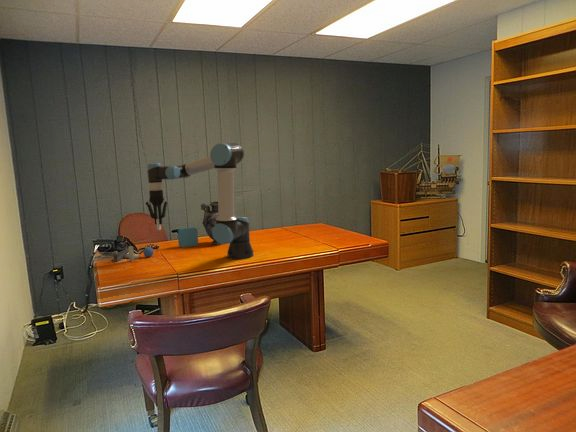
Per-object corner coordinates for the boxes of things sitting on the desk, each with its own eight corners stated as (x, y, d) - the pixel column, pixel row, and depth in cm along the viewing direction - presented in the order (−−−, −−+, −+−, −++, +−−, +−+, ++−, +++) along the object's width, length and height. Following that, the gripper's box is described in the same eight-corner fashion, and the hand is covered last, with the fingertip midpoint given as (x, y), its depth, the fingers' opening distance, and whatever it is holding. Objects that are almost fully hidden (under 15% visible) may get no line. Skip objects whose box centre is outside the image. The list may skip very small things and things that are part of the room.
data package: (196, 244, 287) (195, 226, 285) (198, 245, 283) (197, 227, 281) (178, 246, 281) (177, 228, 279) (180, 247, 277) (179, 229, 275)
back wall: (132, 253, 264) (131, 247, 263) (117, 261, 244) (117, 255, 243) (128, 253, 264) (128, 247, 263) (114, 261, 244) (113, 255, 243)
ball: (144, 247, 256) (146, 257, 256) (140, 248, 250) (142, 258, 250) (154, 245, 256) (156, 255, 256) (150, 246, 250) (152, 256, 250)
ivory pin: (137, 255, 250) (124, 255, 251) (138, 259, 250) (125, 259, 252) (139, 253, 252) (126, 253, 253) (140, 257, 253) (127, 257, 254)
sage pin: (134, 260, 246) (133, 246, 244) (133, 261, 243) (131, 247, 242) (130, 260, 246) (129, 246, 245) (129, 261, 243) (127, 247, 242)
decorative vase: (233, 238, 300) (230, 199, 295) (237, 244, 282) (234, 202, 278) (202, 241, 294) (199, 201, 290) (204, 247, 276) (201, 204, 272)
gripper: (169, 189, 250) (172, 228, 254) (147, 189, 251) (150, 229, 254) (164, 190, 243) (167, 230, 246) (142, 190, 244) (145, 231, 247)
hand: (159, 229), depth 250 cm, fingers closed
